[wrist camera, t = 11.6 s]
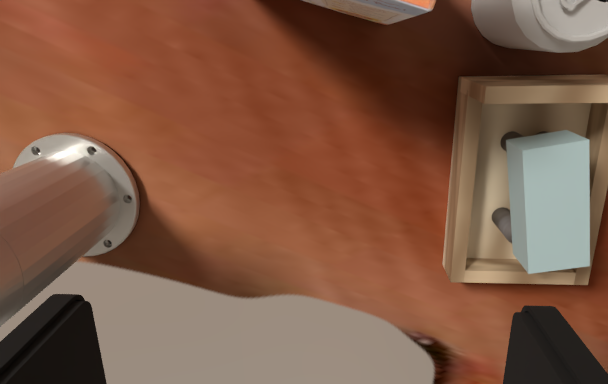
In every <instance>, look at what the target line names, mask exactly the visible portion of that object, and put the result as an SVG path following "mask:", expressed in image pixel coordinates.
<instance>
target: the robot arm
mask: <svg viewBox="0 0 608 384" xmlns="http://www.w3.org/2000/svg"><path fill="white" fill-rule="evenodd" d="M94 148H95V149H96V150H95V149H94ZM130 196H131V198H130ZM139 208H140V200H139V192H138V188H137V185H136V182H135V179H134V177H133V175H132V173H131V171H130V170H129V168H128V167H127V166H126V164H125V163H124V161H123V160H122V159H121V158H120V157H119V156H118V155H117V154H116V153H115V152H114V151H113V150H111V149H110V148H109V147H107V146H106V145H104V144H103V143H101V142H99V141H97V140H95V139H93V138H91V137H88V136H84V135H80V134H74V133H58V134H52V135H49V136H46V137H43V138H41V139H38V140H36V141H34V142H32V143H31V144H30V145H28V146H27V147H26V148H25V149H24V150H23V151H22V152H21V154H20V155H19V156H18V157H17V160H16V162H15V164H14V166H13V169H11V170H8V171H6V172H3V173H1V174H0V327H1V325H3V324H4V323H5V322H6V321H7V320H9V319H10V318H11V317H12V316H14V315H15V314H16V313H17V312H18V311H19V310H20V309H22V308H23V307H24V306H25V305H26V304H28V303H29V302H30V301H31V300H32V299H33V298H34V297H36V296H37V295H38V294H39V293H40V292H41V291H43V289H45V288H46V287H47V286H48V285H50V284H51V283H52V282H53V281H54V280H55V279H56V278H58V277H59V276H60V275H61V274H62V273H63V272H64V271H66V270H67V269H68V268H69V267H70V266H72V265H73V264H74V263H75V262H76V261H77V260H79V259H80V258H81V257H82V256H84V257H85V256H96V255H100V254H104V253H107V252H109V251H111V250H113V249H115V248H116V247H117V246H118V245H120V244H121V243H122V242H123V241H124V240H125V239H126V238H127V237H128V236H129V235H130V234H131V232H132V230H133V229H134V227H135V225H136V222H137V219H138V216H139ZM0 384H106V379H105V374H104V368H103V364H102V358H101V353H100V348H99V343H98V337H97V332H96V327H95V322H94V318H93V312H92V307H91V304H90V303H89V302H87V301H85V300H84V298H83V297H82V296H81V295H72V294H54V295H52V296H50V297H49V298H48V299H47V300H46V301H45V302H44V303H43V304H41V305H40V306H39V307H38V308H37V309H36V310H35V311H34V312H33V313H32V314H30V315H29V316H28V317H27V318H26V319H25V320H24V321H23V322H22V323H21V324H19V325H18V326H17V327H16V328H15V329H14V330H13V331H12V332H11V333H9V334H8V335H7V336H6V337H5V338H4V339H3V340H2V341H1V342H0ZM503 384H608V374H607V372H606V371H605V370H604V369H603V367H602V366H601V365H600V363H599V362H598V361H597V360H596V358H595V357H594V356H593V355H592V353H591V352H590V351H589V349H588V348H587V347H586V346H585V344H584V343H583V342H582V340H581V339H580V338H579V337H578V335H577V334H576V333H575V331H574V330H573V329H572V328H571V326H570V325H569V324H568V322H567V321H566V320H565V319H564V317H563V316H562V315H561V313H560V312H559V311H558V310H557V309H556V308H555V307H553V306H524V307H523V309H522V311H521V312H516V313H514V315H513V319H512V326H511V332H510V339H509V346H508V353H507V360H506V366H505V373H504V380H503Z"/></svg>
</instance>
